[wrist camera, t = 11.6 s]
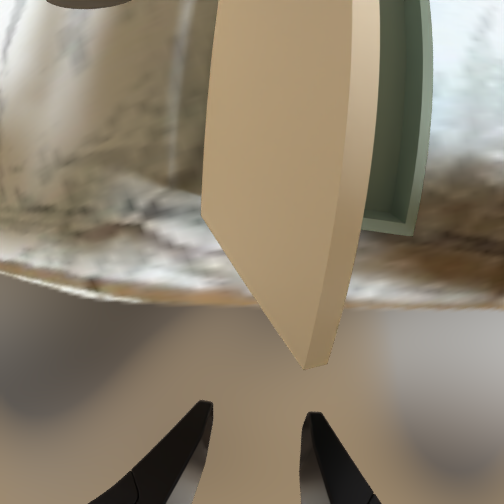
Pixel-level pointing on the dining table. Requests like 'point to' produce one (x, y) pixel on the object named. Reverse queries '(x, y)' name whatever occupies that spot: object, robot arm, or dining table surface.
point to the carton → (401, 117)
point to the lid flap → (290, 153)
